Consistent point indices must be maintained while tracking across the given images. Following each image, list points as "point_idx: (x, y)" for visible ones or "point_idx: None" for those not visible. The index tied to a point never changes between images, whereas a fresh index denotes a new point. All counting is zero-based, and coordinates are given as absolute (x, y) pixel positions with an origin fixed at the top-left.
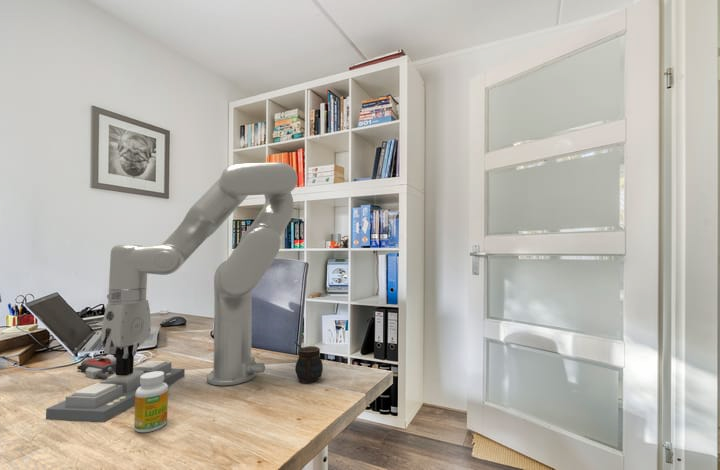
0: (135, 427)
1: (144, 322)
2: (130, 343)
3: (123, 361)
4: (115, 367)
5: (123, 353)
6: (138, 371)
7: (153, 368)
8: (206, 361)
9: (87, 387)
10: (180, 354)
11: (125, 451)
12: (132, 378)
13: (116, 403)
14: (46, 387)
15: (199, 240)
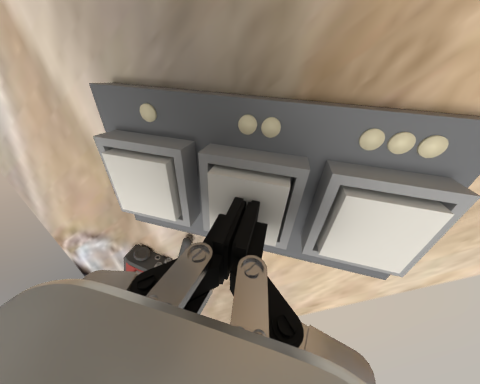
0: None
1: None
2: (258, 358)
3: (259, 253)
4: (148, 261)
5: (267, 293)
6: (217, 186)
7: (164, 161)
8: (6, 89)
9: (357, 259)
10: (33, 190)
11: None
12: (263, 177)
13: (426, 129)
14: (226, 304)
15: None
